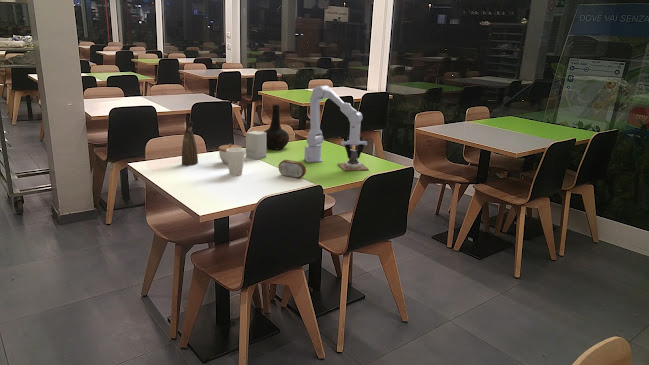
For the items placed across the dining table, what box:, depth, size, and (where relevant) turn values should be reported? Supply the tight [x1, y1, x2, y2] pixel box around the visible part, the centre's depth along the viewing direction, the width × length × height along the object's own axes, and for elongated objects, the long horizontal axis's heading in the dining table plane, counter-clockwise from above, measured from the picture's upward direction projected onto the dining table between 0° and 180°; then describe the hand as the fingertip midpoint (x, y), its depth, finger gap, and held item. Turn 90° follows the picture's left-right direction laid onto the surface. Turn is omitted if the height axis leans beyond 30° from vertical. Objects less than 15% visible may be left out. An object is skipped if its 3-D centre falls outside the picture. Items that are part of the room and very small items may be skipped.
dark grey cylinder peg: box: [348, 149, 359, 162], centre depth 271 cm, size 5×5×6 cm
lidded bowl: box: [218, 143, 243, 165], centre depth 270 cm, size 13×13×11 cm
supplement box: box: [245, 130, 267, 160], centre depth 285 cm, size 9×9×15 cm
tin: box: [278, 159, 307, 179], centre depth 249 cm, size 15×3×8 cm, turn 65°
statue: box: [181, 119, 199, 166], centre depth 263 cm, size 9×8×25 cm
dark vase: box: [263, 104, 290, 150], centre depth 308 cm, size 18×18×28 cm
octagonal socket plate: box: [337, 159, 370, 172], centre depth 273 cm, size 14×14×3 cm
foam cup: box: [226, 147, 246, 177], centre depth 249 cm, size 10×9×13 cm
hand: (353, 157), depth 271 cm, fingers closed on dark grey cylinder peg, 5 cm apart
